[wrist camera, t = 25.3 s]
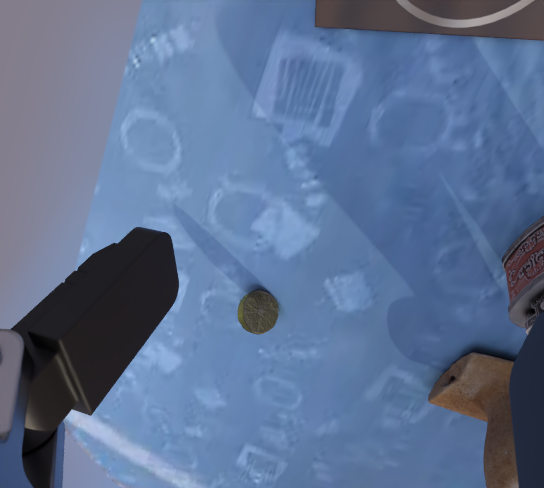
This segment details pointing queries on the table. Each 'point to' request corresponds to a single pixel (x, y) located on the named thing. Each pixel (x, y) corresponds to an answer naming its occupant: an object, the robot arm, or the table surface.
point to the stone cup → (483, 410)
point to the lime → (257, 312)
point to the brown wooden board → (437, 17)
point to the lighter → (526, 276)
